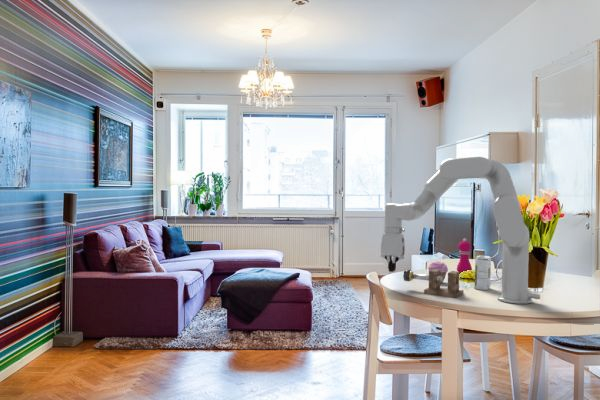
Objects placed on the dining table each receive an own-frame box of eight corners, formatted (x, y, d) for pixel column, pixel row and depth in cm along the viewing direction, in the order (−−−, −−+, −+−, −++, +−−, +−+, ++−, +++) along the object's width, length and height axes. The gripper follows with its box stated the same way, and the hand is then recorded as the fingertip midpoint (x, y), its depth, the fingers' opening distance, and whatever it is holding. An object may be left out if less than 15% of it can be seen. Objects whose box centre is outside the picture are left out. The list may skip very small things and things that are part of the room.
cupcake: (424, 282, 226) (425, 261, 226) (434, 279, 232) (434, 259, 232) (441, 284, 220) (442, 263, 219) (451, 282, 226) (451, 261, 225)
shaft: (443, 284, 203) (443, 272, 203) (439, 286, 199) (439, 274, 199) (407, 280, 212) (407, 268, 212) (403, 281, 208) (403, 270, 207)
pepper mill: (472, 279, 234) (473, 239, 234) (457, 278, 236) (458, 238, 235) (470, 276, 241) (471, 237, 241) (455, 276, 243) (456, 237, 242)
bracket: (463, 293, 200) (463, 271, 200) (457, 297, 193) (457, 274, 192) (430, 289, 208) (431, 268, 208) (423, 293, 200) (424, 271, 200)
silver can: (476, 286, 216) (477, 255, 215) (490, 288, 213) (491, 256, 212) (474, 289, 211) (474, 256, 210) (488, 290, 208) (489, 257, 207)
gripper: (412, 231, 212) (410, 272, 212) (381, 229, 220) (379, 268, 220) (405, 232, 205) (404, 274, 206) (374, 230, 214) (373, 270, 214)
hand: (391, 271), depth 213 cm, fingers closed
